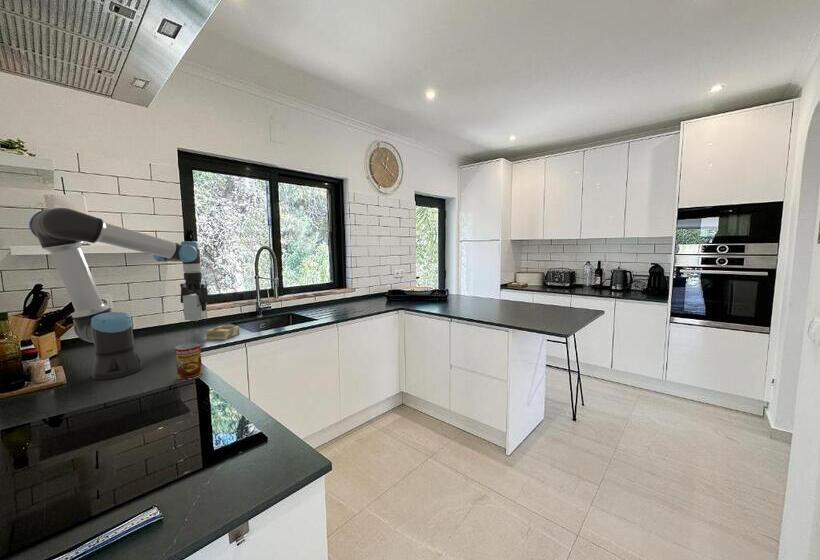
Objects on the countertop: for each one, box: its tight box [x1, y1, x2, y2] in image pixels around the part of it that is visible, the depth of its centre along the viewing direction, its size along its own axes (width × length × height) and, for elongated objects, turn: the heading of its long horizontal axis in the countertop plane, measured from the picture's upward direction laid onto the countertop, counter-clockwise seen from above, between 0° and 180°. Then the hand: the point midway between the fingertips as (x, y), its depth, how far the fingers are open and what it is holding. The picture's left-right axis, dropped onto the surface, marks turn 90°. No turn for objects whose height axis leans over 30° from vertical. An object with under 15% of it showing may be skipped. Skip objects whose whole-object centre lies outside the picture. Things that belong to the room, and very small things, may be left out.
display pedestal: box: [205, 325, 240, 340], centre depth 184 cm, size 11×11×4 cm
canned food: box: [174, 342, 203, 380], centre depth 130 cm, size 8×8×12 cm
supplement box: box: [182, 293, 208, 322], centre depth 173 cm, size 7×7×13 cm
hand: (196, 316), depth 174 cm, fingers closed on supplement box, 7 cm apart
